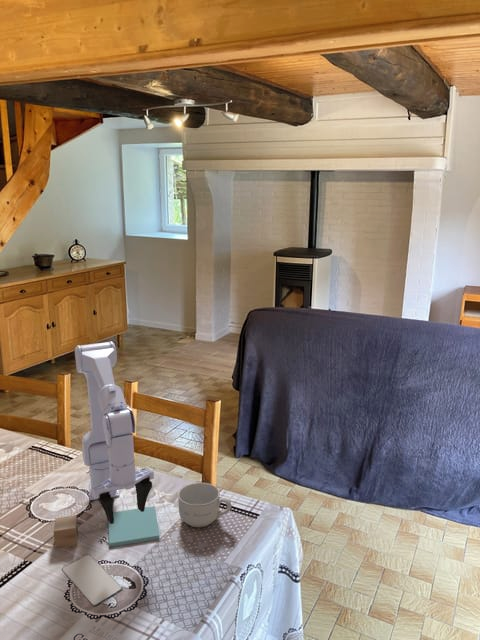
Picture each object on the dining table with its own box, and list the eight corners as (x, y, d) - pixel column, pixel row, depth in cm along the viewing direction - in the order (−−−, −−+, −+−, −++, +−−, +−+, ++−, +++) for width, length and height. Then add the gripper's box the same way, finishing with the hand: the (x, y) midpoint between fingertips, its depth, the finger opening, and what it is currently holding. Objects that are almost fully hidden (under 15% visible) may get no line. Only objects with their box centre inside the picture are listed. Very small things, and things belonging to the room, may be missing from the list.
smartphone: (94, 607, 105) (60, 568, 116) (94, 609, 105) (60, 570, 116) (123, 588, 110) (88, 553, 120) (123, 590, 110) (89, 555, 120)
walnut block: (57, 535, 127) (55, 518, 125) (78, 532, 128) (76, 515, 127) (55, 549, 122) (53, 531, 121) (77, 545, 123) (75, 527, 122)
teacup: (170, 524, 131) (169, 497, 129) (193, 502, 140) (192, 476, 138) (217, 542, 125) (217, 514, 122) (238, 517, 134) (238, 490, 132)
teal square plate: (108, 516, 134) (108, 512, 134) (154, 509, 137) (154, 506, 137) (109, 546, 123) (109, 543, 122) (159, 538, 126) (159, 535, 125)
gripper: (98, 478, 109) (103, 535, 112) (158, 457, 118) (162, 511, 120) (86, 466, 115) (91, 521, 117) (144, 447, 123) (148, 499, 126)
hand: (126, 515), depth 119 cm, fingers open, 7 cm apart
